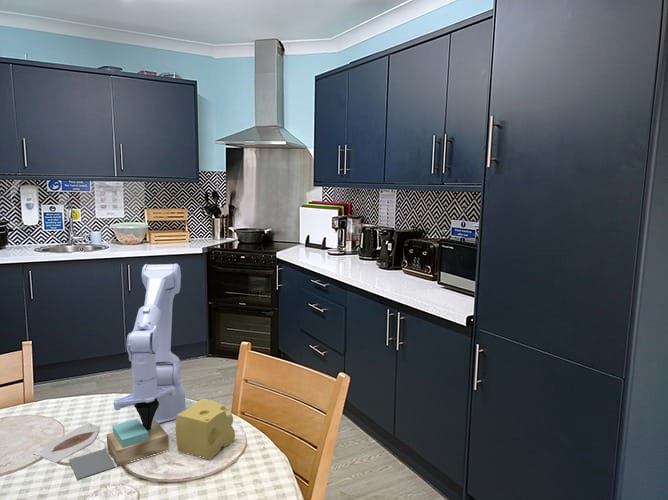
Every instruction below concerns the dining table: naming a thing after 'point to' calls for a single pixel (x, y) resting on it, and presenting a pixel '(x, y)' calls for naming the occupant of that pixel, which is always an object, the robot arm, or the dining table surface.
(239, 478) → the dining table surface
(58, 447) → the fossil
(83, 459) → the mat
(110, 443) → the block
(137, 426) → the turquoise rectangular block
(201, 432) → the cheese
